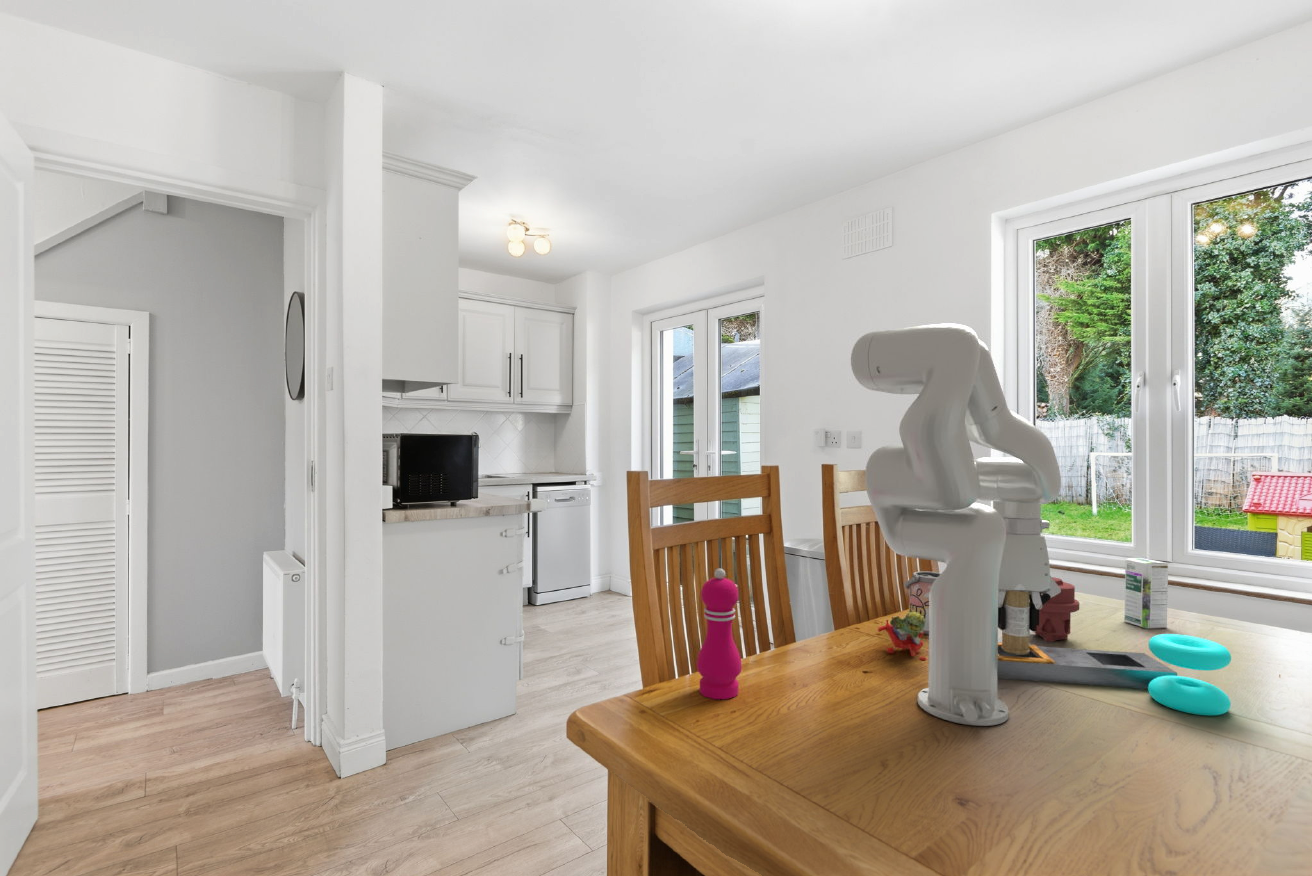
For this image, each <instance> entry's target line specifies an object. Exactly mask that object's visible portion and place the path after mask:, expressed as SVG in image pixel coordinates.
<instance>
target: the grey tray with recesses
mask: <svg viewBox="0 0 1312 876" xmlns="http://www.w3.org/2000/svg"><path fill="white" fill-rule="evenodd" d="M1001 646H1002V642H998V666H997V679H1003V680H1014V681H1016V680H1018V681H1031V682H1044V683H1045V682H1046V683H1048V682H1049V683H1057V684H1058V683H1059V684H1071V685H1072V684H1075V685H1086V686H1087V685H1089V686H1103V687H1115V688H1130V689H1132V688H1133V689H1142V690H1144V689H1146V690H1148V686H1149V683H1150V682H1151V681H1152V680H1153V679H1155V678H1157V677H1161V676H1178V672H1177V671H1175V670H1174V669H1172V668H1170V667H1169V666H1166V665H1165V664H1163V663H1162V662H1160V661H1158V660H1156V659H1154V658H1153V657H1151V656H1149V655H1148V654H1146V653H1145V652H1132V651H1118V650H1115V651H1114V650H1104V649H1103V650H1101V649H1100V650H1099V649H1098V650H1097V649H1087V648H1086V649H1085V648H1071V647H1070V648H1069V647H1052V646H1038V645H1037V646H1036V645H1035V644H1029V650H1030V652H1029V653H1028V654H1025V655H1017V654H1012V653H1008V652H1005V651H1004V650H1002V648H1001Z"/></svg>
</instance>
